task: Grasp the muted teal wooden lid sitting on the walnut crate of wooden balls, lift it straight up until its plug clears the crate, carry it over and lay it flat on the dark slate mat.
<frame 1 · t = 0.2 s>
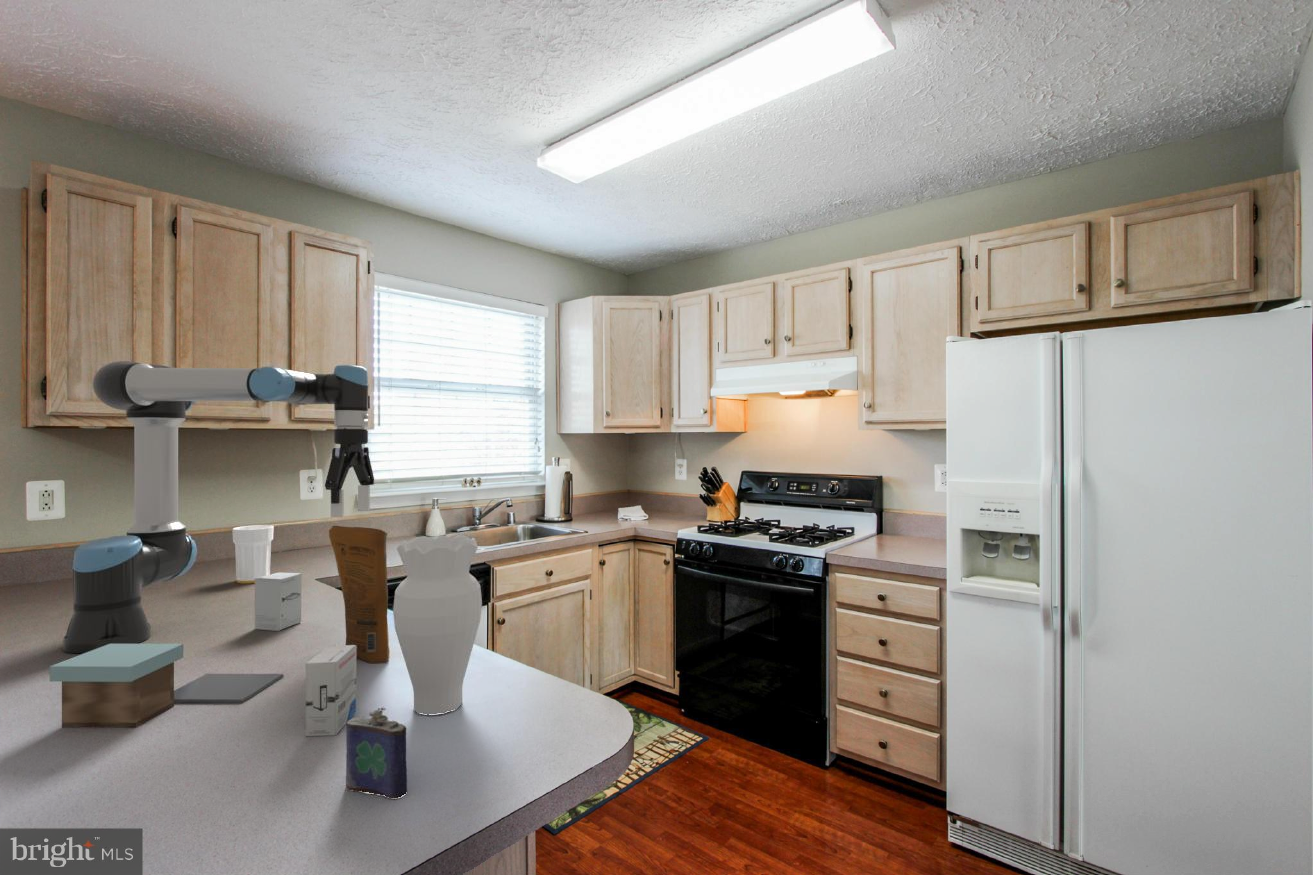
hand: (351, 513, 156), 28 cm above the worktop, fingers open, 13 cm apart
flask: (377, 791, 84), on the worktop
ink box: (331, 725, 103), on the worktop
pancake mix bag: (363, 656, 135), on the worktop
cup: (253, 581, 205), on the worktop
mat: (223, 689, 117), on the worktop
lid: (120, 668, 106), point 8 cm above the worktop, touching crate
vase: (438, 707, 110), on the worktop
supplement box: (278, 626, 156), on the worktop
crate: (119, 716, 106), on the worktop
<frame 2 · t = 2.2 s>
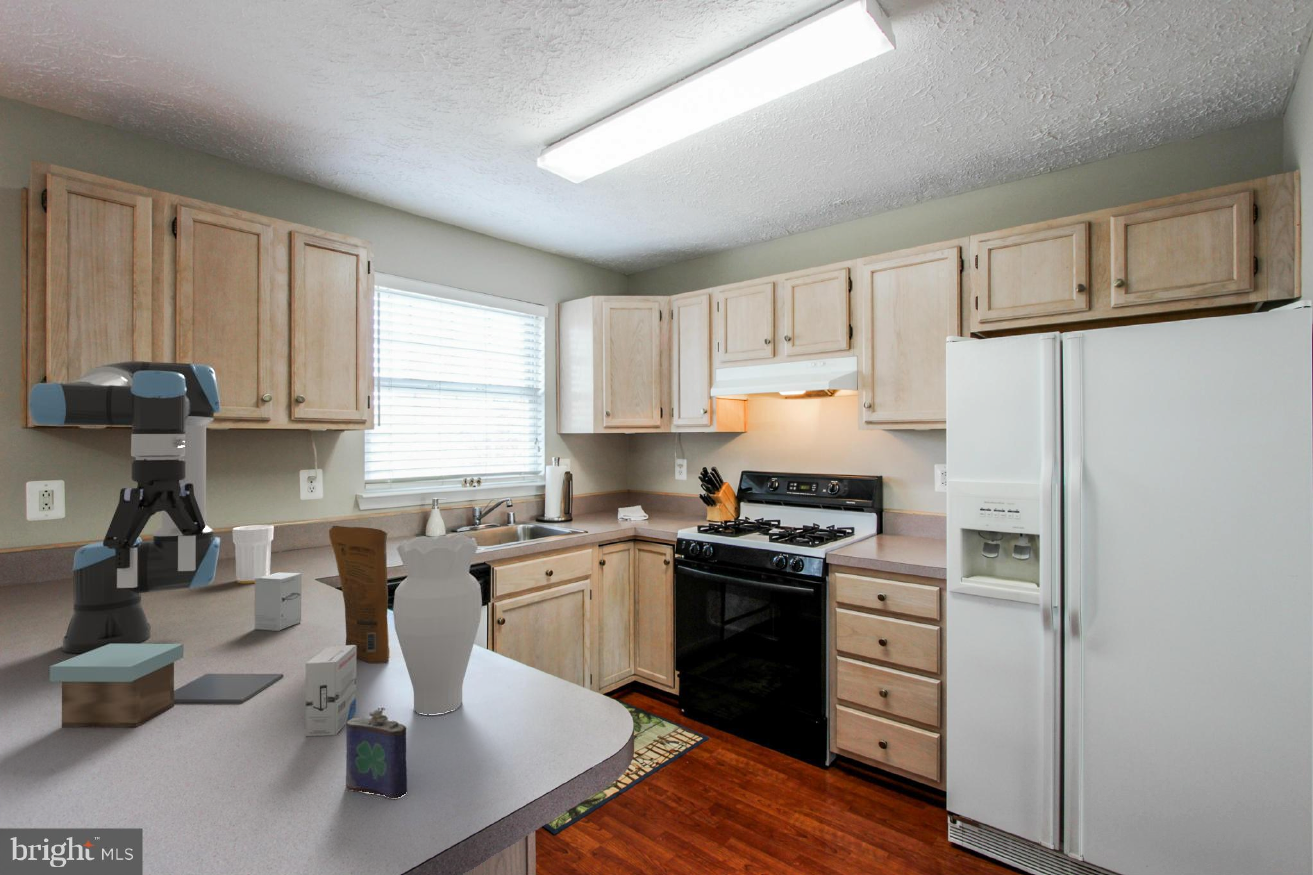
hand: (158, 578, 111), 22 cm above the worktop, fingers open, 13 cm apart
nothing on the worktop moved.
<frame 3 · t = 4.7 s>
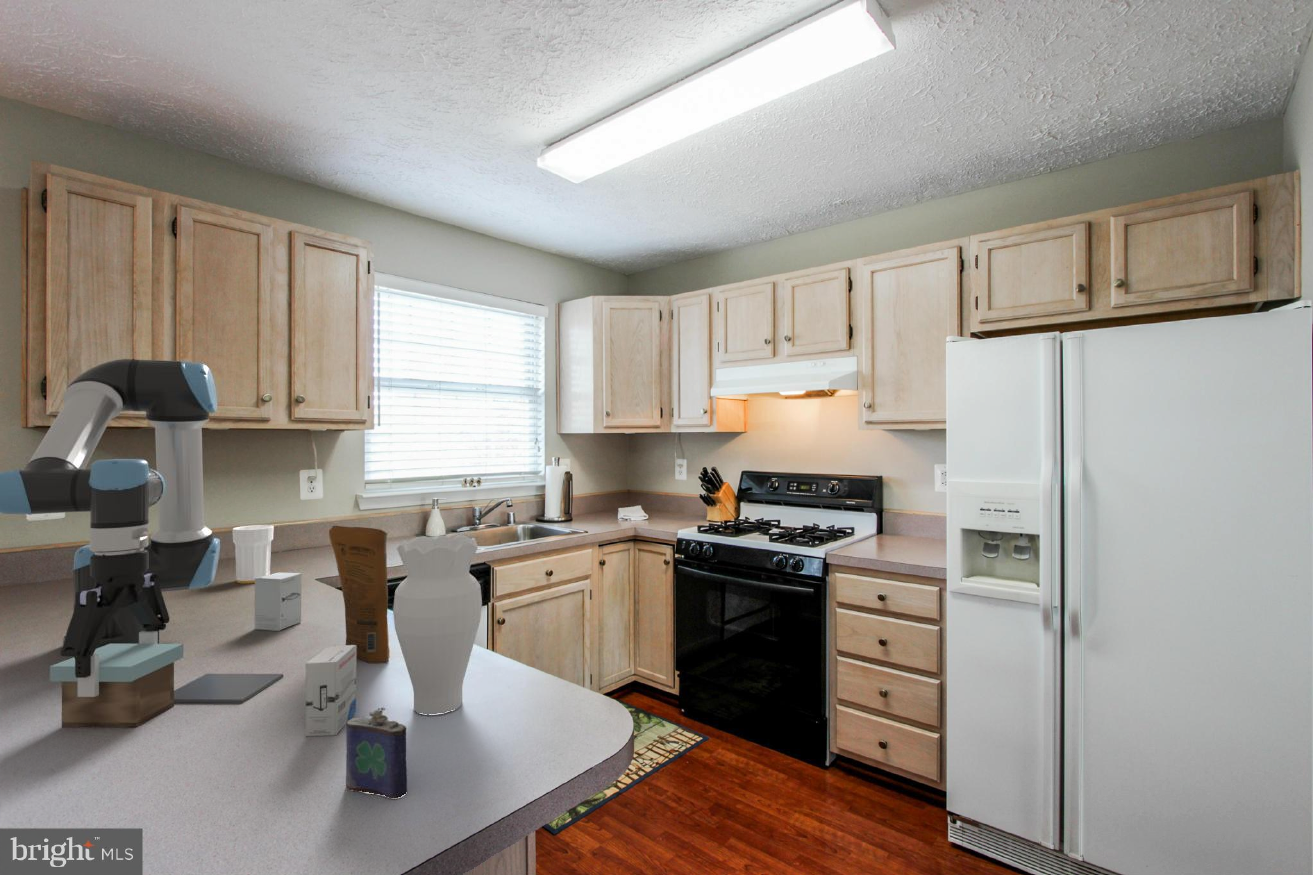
hand: (119, 681, 106), 6 cm above the worktop, fingers closed on lid, 11 cm apart
lid: (120, 668, 106), point 8 cm above the worktop, touching crate, gripper
everything else where it was.
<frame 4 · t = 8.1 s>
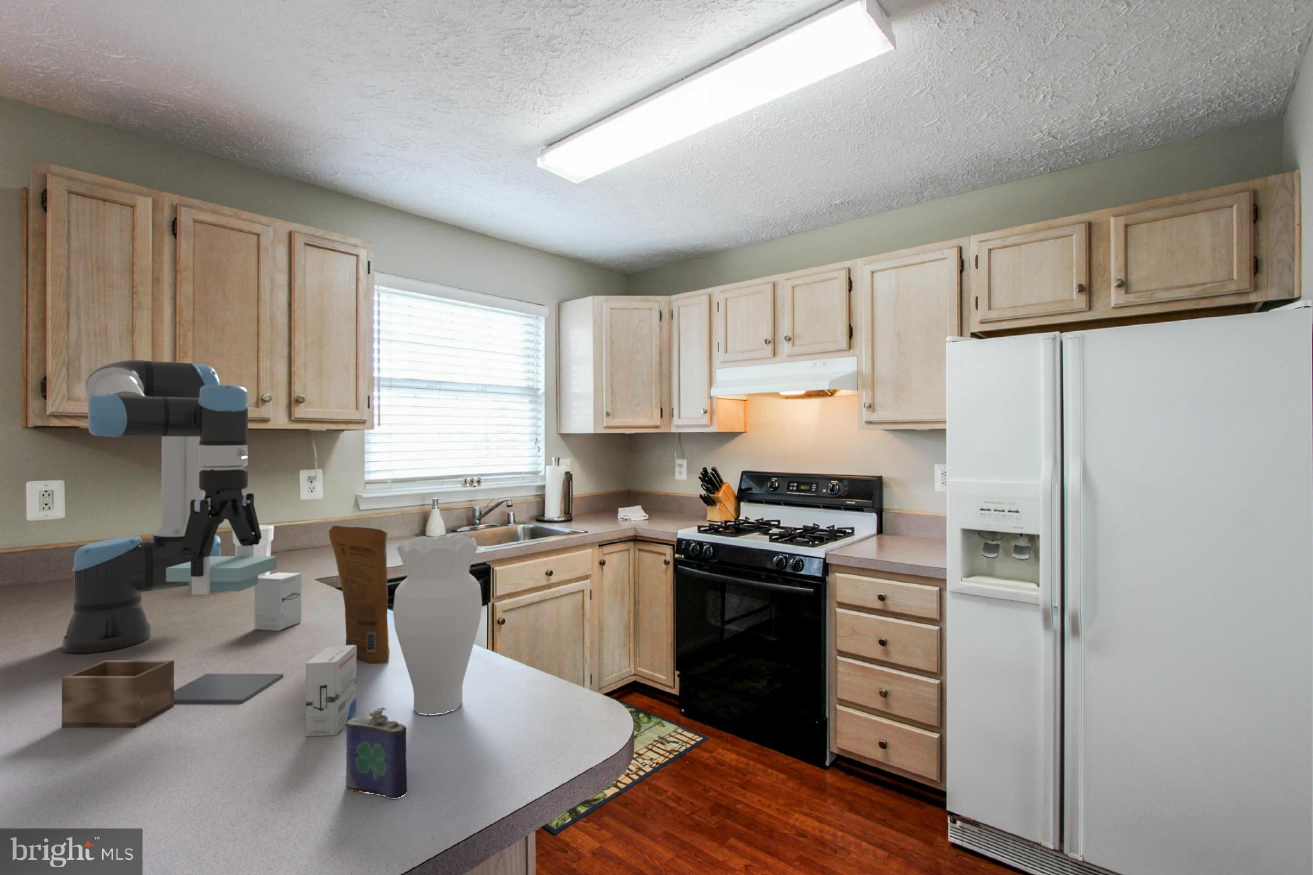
hand: (223, 586, 117), 19 cm above the worktop, fingers closed on lid, 11 cm apart
lid: (224, 574, 117), point 21 cm above the worktop, touching gripper
everything else where it was.
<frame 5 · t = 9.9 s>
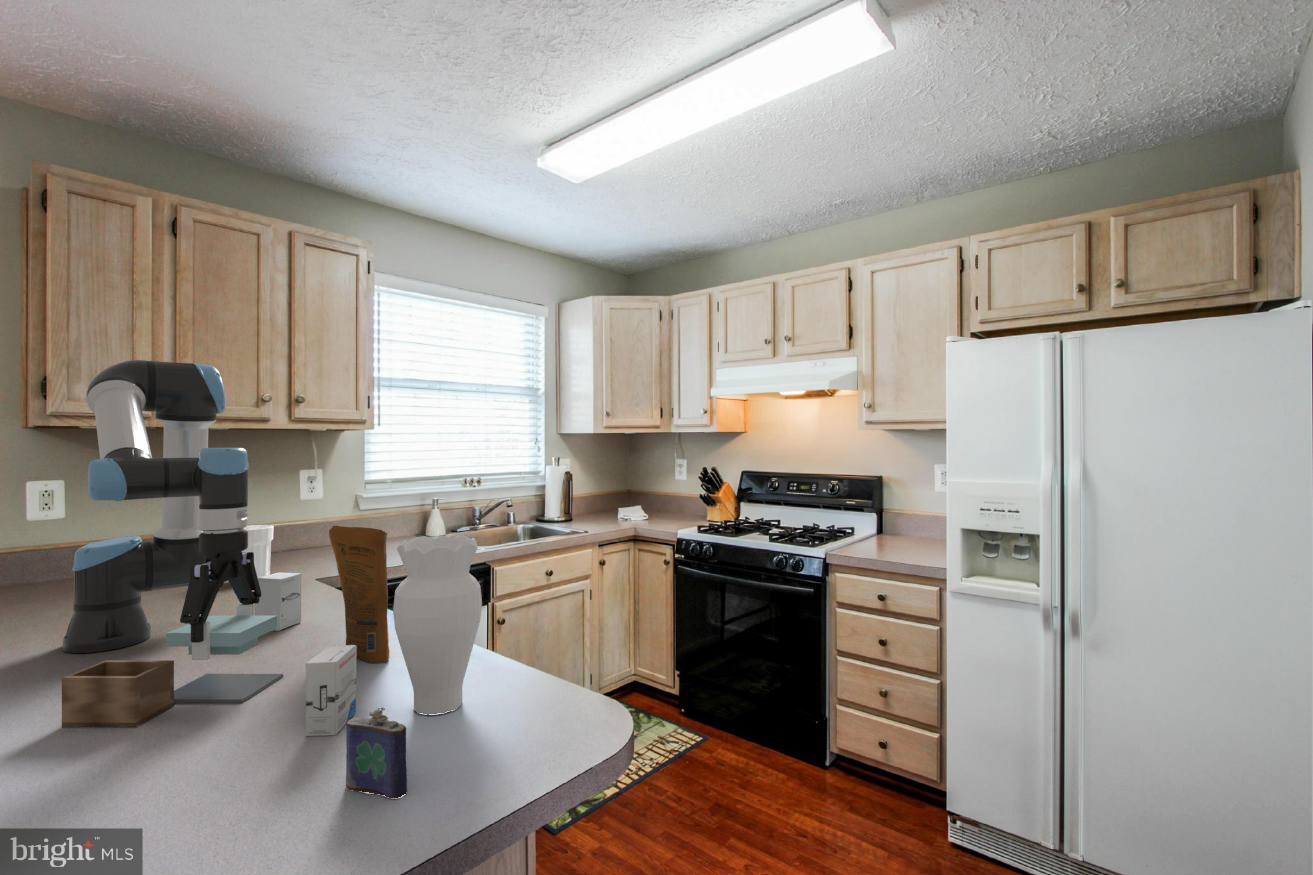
hand: (223, 648, 117), 8 cm above the worktop, fingers closed on lid, 11 cm apart
lid: (224, 636, 117), point 10 cm above the worktop, touching gripper
everything else where it was.
when the fingers open (3 cm above the worktop, at t = 11.5 s): lid drops 2 cm, resting on mat.
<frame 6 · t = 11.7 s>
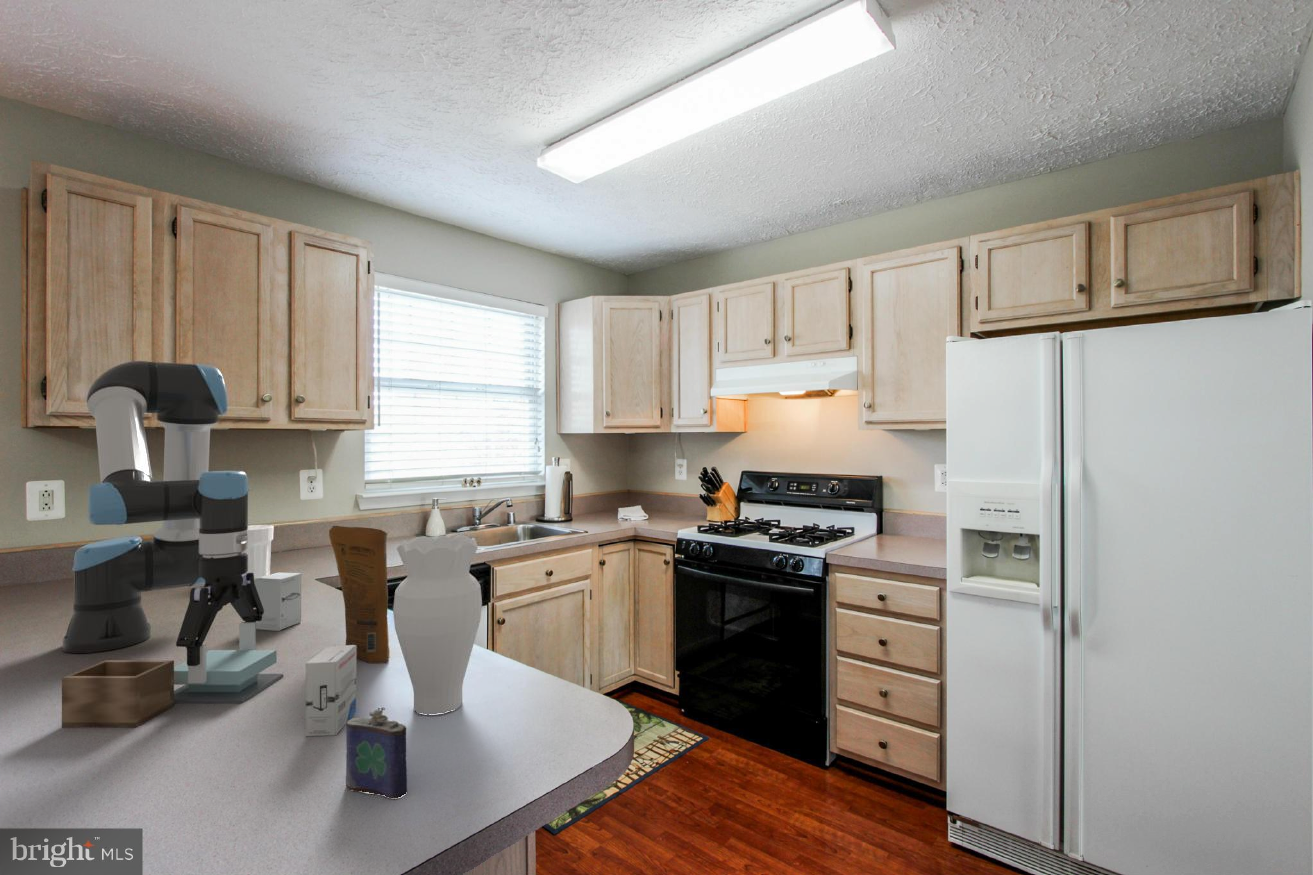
hand: (223, 668, 117), 4 cm above the worktop, fingers open, 13 cm apart
lid: (223, 672, 117), point 3 cm above the worktop, touching mat
everything else where it was.
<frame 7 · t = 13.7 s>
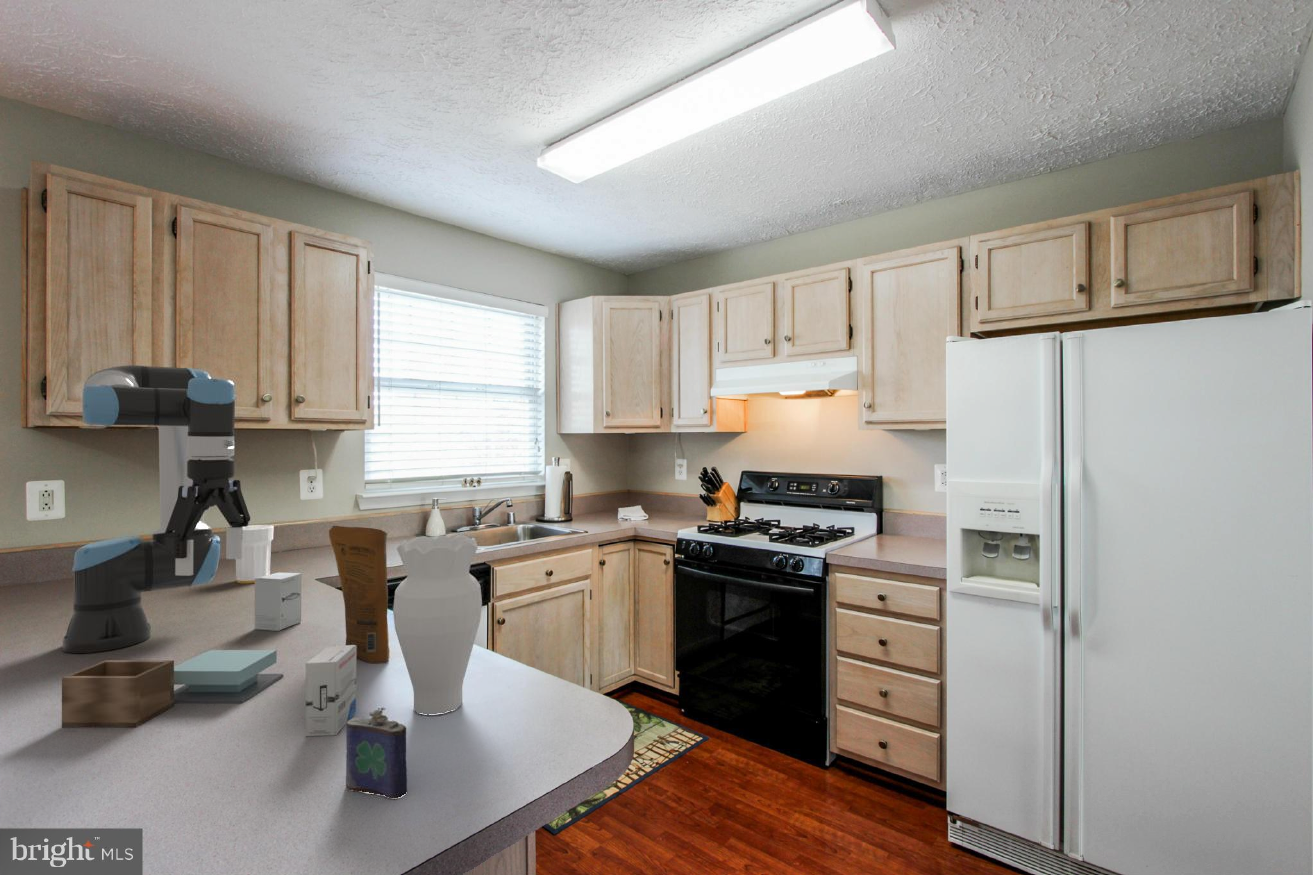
hand: (210, 566, 123), 22 cm above the worktop, fingers open, 13 cm apart
nothing on the worktop moved.
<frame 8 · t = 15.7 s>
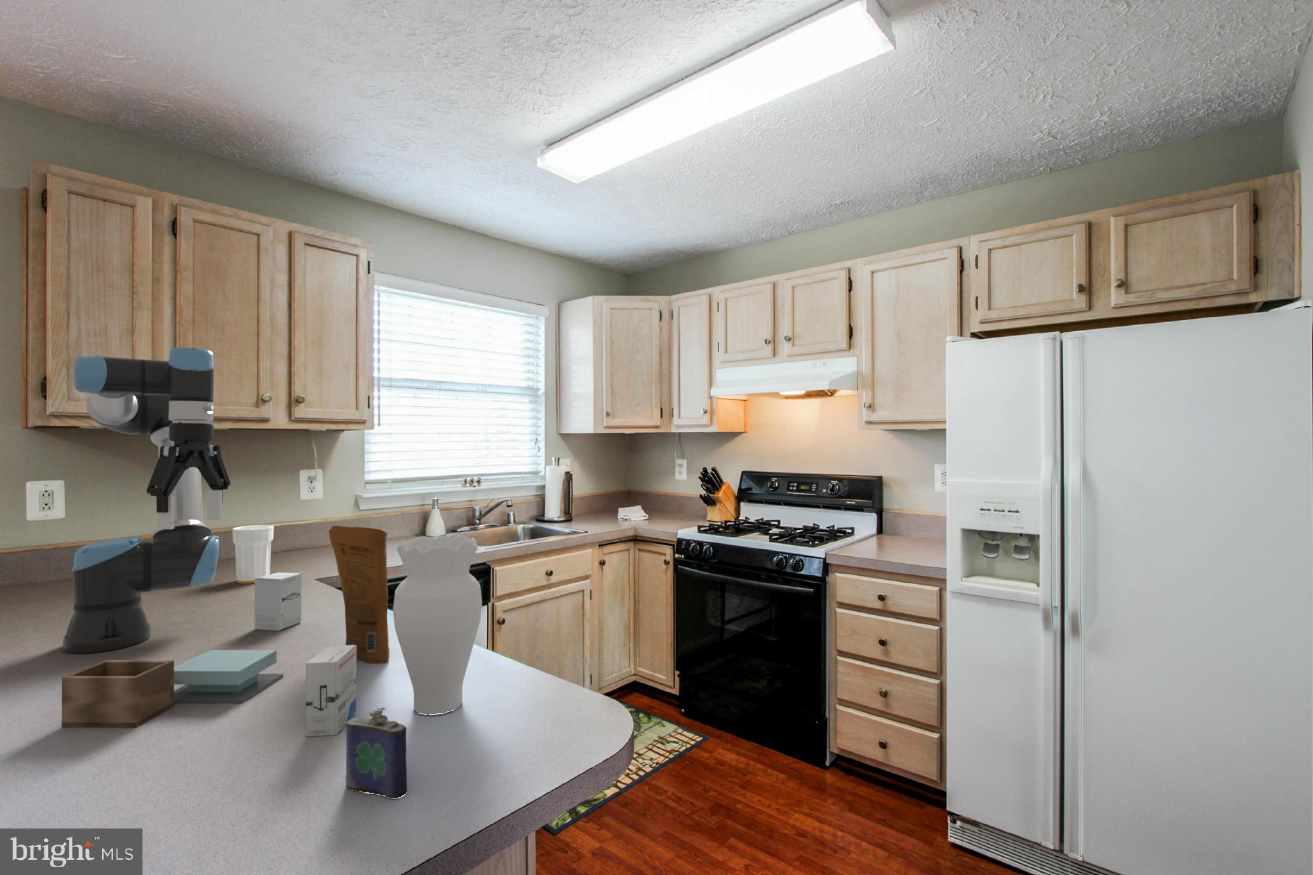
hand: (191, 524, 131), 29 cm above the worktop, fingers open, 13 cm apart
nothing on the worktop moved.
at the end: lid inside the target area on the mat (0.0 cm from its centre), point 3.0 cm above the mat's base; lid tilted 0°; lid touching mat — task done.
